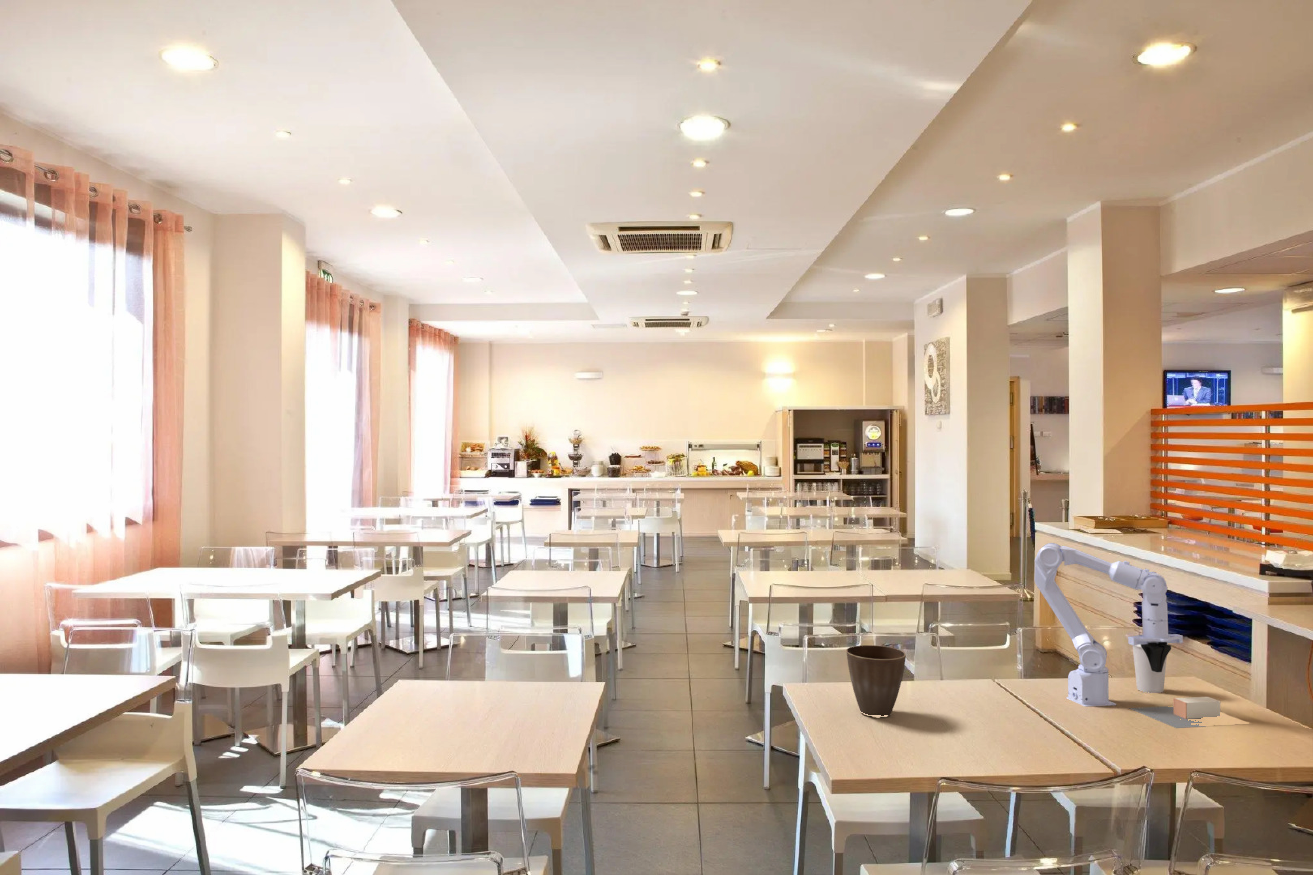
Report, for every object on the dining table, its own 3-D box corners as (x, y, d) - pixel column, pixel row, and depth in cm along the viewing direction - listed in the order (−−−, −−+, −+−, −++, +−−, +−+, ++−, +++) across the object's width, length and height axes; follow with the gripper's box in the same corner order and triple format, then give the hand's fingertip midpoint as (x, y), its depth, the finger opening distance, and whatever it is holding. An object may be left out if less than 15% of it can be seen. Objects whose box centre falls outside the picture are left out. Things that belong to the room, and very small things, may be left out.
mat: (1176, 729, 201) (1176, 727, 201) (1128, 709, 217) (1128, 708, 217) (1254, 725, 204) (1254, 723, 204) (1202, 706, 220) (1202, 704, 220)
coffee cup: (1123, 688, 237) (1122, 636, 237) (1145, 684, 241) (1144, 633, 241) (1155, 697, 228) (1155, 642, 229) (1177, 693, 232) (1177, 639, 233)
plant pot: (918, 719, 208) (918, 655, 208) (869, 726, 202) (869, 660, 202) (881, 702, 221) (881, 643, 222) (834, 708, 216) (834, 647, 216)
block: (1185, 702, 208) (1220, 701, 210) (1173, 698, 212) (1207, 696, 214) (1185, 718, 208) (1220, 716, 210) (1173, 713, 212) (1207, 712, 214)
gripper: (1141, 623, 211) (1143, 676, 211) (1191, 620, 213) (1193, 673, 213) (1121, 618, 218) (1123, 669, 218) (1170, 616, 220) (1172, 667, 220)
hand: (1156, 671), depth 216 cm, fingers closed
